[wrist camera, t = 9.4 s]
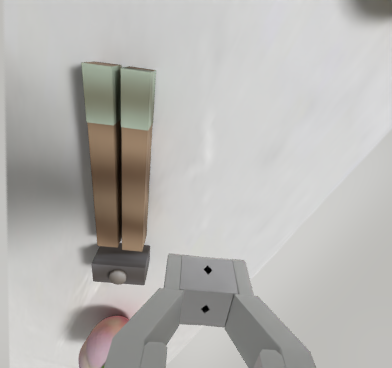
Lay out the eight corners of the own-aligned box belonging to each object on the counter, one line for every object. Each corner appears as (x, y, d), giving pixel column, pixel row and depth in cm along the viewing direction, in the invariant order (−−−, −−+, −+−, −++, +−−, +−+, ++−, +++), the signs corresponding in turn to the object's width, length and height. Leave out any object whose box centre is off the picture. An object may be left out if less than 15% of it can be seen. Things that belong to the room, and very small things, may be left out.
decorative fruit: (132, 339, 44) (116, 412, 35) (87, 325, 42) (59, 398, 33) (156, 309, 40) (145, 382, 31) (108, 292, 38) (82, 364, 29)
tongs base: (89, 61, 23) (67, 62, 19) (157, 69, 24) (150, 73, 20) (103, 258, 35) (91, 285, 31) (149, 261, 35) (143, 289, 31)
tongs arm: (146, 235, 33) (142, 251, 30) (127, 233, 33) (121, 250, 30) (155, 70, 24) (150, 72, 21) (129, 66, 23) (120, 68, 21)
